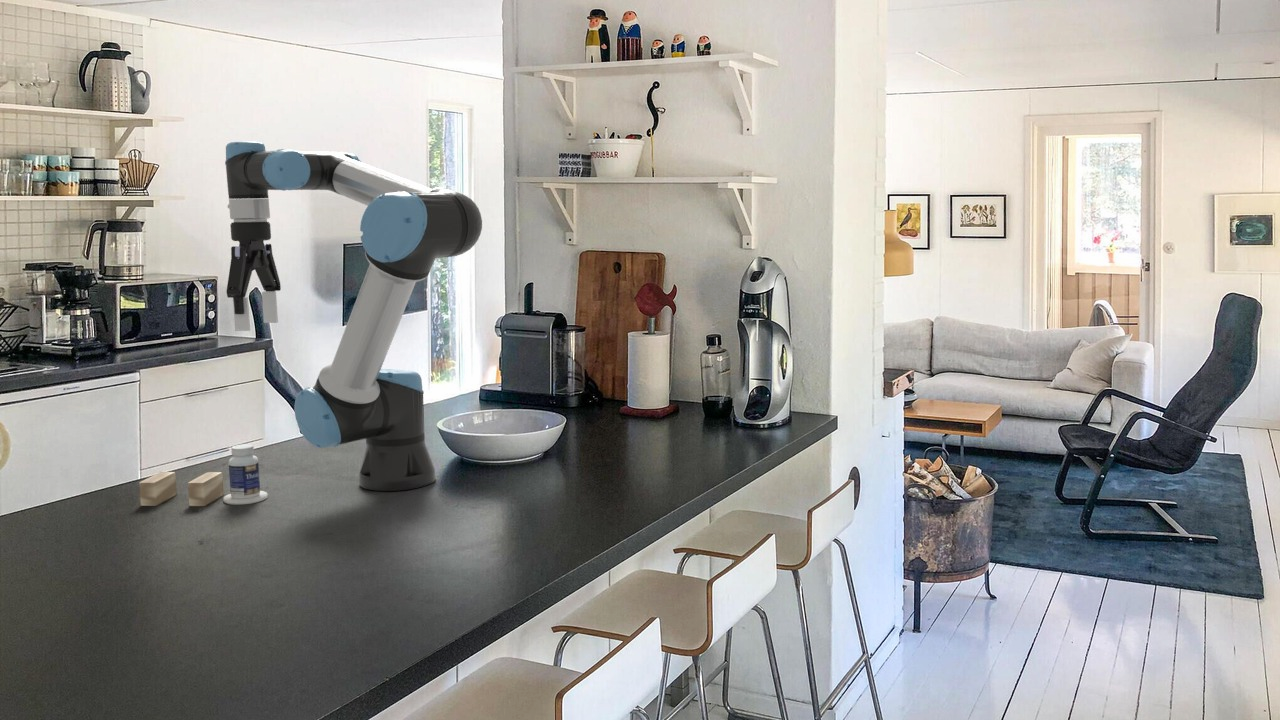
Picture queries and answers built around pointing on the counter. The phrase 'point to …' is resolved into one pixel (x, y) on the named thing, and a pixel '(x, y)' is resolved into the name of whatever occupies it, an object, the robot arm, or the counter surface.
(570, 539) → the counter surface
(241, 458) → the pill bottle
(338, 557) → the counter surface
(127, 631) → the counter surface
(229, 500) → the pad
